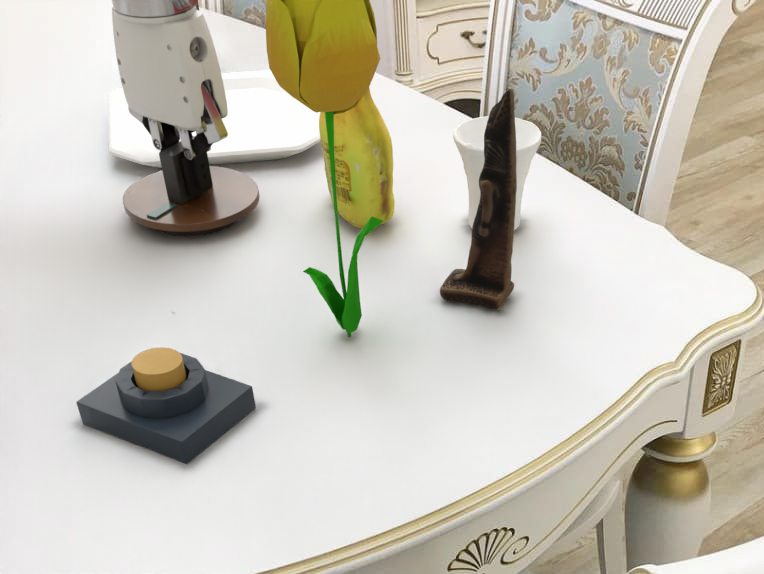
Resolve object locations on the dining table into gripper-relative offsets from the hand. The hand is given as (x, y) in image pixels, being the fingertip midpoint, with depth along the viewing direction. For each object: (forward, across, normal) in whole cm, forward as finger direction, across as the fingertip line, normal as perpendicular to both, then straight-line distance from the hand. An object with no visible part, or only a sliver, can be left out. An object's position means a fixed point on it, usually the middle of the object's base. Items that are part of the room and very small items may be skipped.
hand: (190, 187), depth 116 cm
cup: (+3, -28, -16) cm, 32 cm away
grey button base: (+3, -24, +28) cm, 37 cm away
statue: (+3, -35, -2) cm, 35 cm away
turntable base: (+3, 0, 0) cm, 3 cm away
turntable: (+1, 0, 0) cm, 1 cm away
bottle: (+3, -14, -10) cm, 18 cm away
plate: (+3, +13, -18) cm, 23 cm away
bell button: (-1, -24, +29) cm, 37 cm away
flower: (+3, -29, +10) cm, 31 cm away
